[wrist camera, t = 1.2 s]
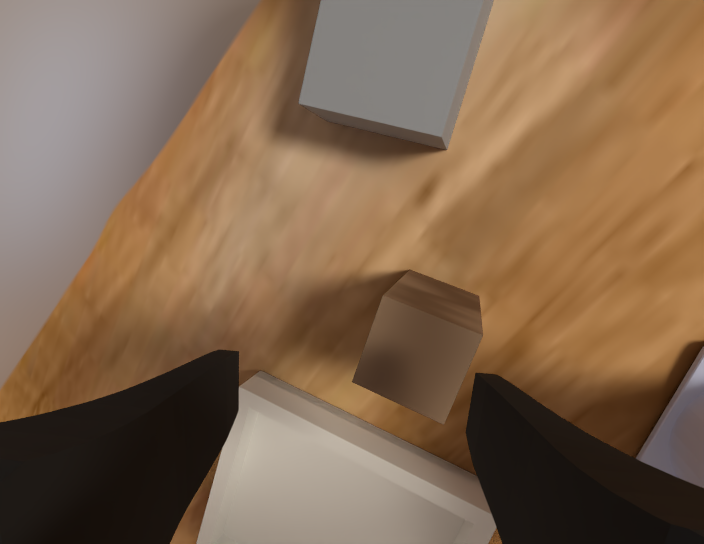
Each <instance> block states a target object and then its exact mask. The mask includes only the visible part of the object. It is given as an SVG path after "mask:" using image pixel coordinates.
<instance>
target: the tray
mask: <svg viewBox="0 0 704 544" xmlns="http://www.w3.org/2000/svg"><path fill="white" fill-rule="evenodd" d="M496 528H497V527H496V524H495V522H494V519H493V516H492V514H491V511H490V509H489V506H488V503H487V501H486V498H485V495H484V493H483V490H482V487H481V485H480V482H479V479H478V477H477V476H476V475H474V474H472V473H470V472H468V471H466V470H464V469H462V468H460V467H458V466H456V465H454V464H451V463H449V462H447V461H445V460H443V459H441V458H439V457H437V456H435V455H433V454H431V453H429V452H427V451H425V450H423V449H421V448H419V447H417V446H415V445H413V444H411V443H409V442H406V441H404V440H402V439H400V438H398V437H396V436H394V435H392V434H390V433H388V432H386V431H384V430H382V429H380V428H378V427H376V426H374V425H372V424H370V423H368V422H366V421H363V420H361V419H359V418H357V417H355V416H353V415H351V414H349V413H347V412H345V411H343V410H341V409H339V408H337V407H335V406H333V405H331V404H329V403H327V402H325V401H323V400H321V399H318V398H316V397H314V396H312V395H310V394H308V393H306V392H304V391H302V390H300V389H298V388H296V387H294V386H292V385H290V384H288V383H286V382H284V381H282V380H280V379H278V378H276V377H273V376H271V375H269V374H267V373H265V372H263V371H261V370H260V371H259V372H258V373H256V374H255V375H254V376H252V377H251V378H250V379H248V380H247V381H246V382H244V383H243V384H242V385H240V386H239V411H238V414H237V416H236V419H235V421H234V424H233V426H232V429H231V431H230V433H229V436H228V438H227V440H226V442H225V444H224V446H223V448H222V451H221V455H220V459H219V462H218V466H217V470H216V473H215V477H214V481H213V484H212V488H211V492H210V495H209V499H208V503H207V506H206V510H205V514H204V517H203V521H202V525H201V528H200V532H199V535H198V539H197V543H196V544H488V543H489V541H490V539H491V537H492V535H493V533H494V531H495V529H496Z"/></svg>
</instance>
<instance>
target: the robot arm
mask: <svg viewBox="0 0 704 544" xmlns="http://www.w3.org/2000/svg"><path fill="white" fill-rule="evenodd" d="M238 411H239V351H228V350H217V351H214V352H211V353H208V354H206V355H204V356H202V357H199V358H197V359H195V360H193V361H191V362H189V363H186V364H184V365H182V366H180V367H178V368H176V369H173V370H171V371H169V372H167V373H165V374H162V375H160V376H157V377H155V378H153V379H150V380H148V381H145V382H143V383H141V384H138V385H136V386H133V387H131V388H128V389H126V390H123V391H120V392H117V393H114V394H111V395H108V396H105V397H102V398H99V399H96V400H93V401H90V402H86V403H83V404H79V405H75V406H71V407H67V408H63V409H60V410H56V411H52V412H48V413H44V414H40V415H35V416H31V417H26V418H21V419H16V420H11V421H6V422H0V544H170V542H171V540H172V537H173V535H174V533H175V531H176V529H177V527H178V524H179V523H180V521H181V519H182V517H183V515H184V513H185V511H186V509H187V507H188V506H189V504H190V502H191V501H192V499H193V497H194V495H195V494H196V492H197V490H198V489H199V487H200V485H201V484H202V482H203V480H204V478H205V477H206V475H207V473H208V472H209V470H210V468H211V466H212V465H213V463H214V461H215V460H216V458H217V456H218V454H219V453H220V451H221V449H222V447H223V446H224V444H225V442H226V440H227V438H228V436H229V433H230V431H231V429H232V426H233V424H234V421H235V419H236V416H237V414H238ZM466 436H467V440H468V445H469V450H470V454H471V458H472V462H473V465H474V468H475V471H476V474H477V477H478V479H479V482H480V485H481V487H482V490H483V493H484V495H485V498H486V501H487V503H488V506H489V509H490V511H491V514H492V516H493V519H494V522H495V524H496V527H497V530H498V532H499V535H500V538H501V540H502V543H503V544H704V346H703V348H702V349H701V351H700V352H699V354H698V356H697V357H696V359H695V361H694V362H693V364H692V366H691V367H690V369H689V371H688V372H687V374H686V376H685V377H684V379H683V381H682V382H681V384H680V386H679V387H678V389H677V391H676V392H675V394H674V396H673V397H672V399H671V400H670V402H669V404H668V405H667V407H666V409H665V410H664V412H663V414H662V415H661V417H660V419H659V420H658V422H657V424H656V425H655V427H654V429H653V430H652V432H651V434H650V435H649V437H648V439H647V440H646V442H645V444H644V445H643V447H642V449H641V450H640V452H639V454H638V455H637V457H636V459H635V458H633V457H631V456H629V455H627V454H625V453H623V452H621V451H619V450H617V449H615V448H613V447H612V446H610V445H608V444H606V443H604V442H602V441H600V440H598V439H597V438H595V437H593V436H591V435H589V434H588V433H586V432H584V431H583V430H581V429H579V428H578V427H576V426H574V425H573V424H571V423H570V422H568V421H566V420H565V419H563V418H561V417H560V416H558V415H557V414H555V413H554V412H552V411H551V410H549V409H548V408H546V407H545V406H543V405H542V404H540V403H539V402H537V401H536V400H535V399H533V398H532V397H530V396H529V395H527V394H526V393H524V392H523V391H521V390H520V389H519V388H517V387H516V386H514V385H513V384H511V383H510V382H508V381H507V380H505V379H503V378H502V377H500V376H498V375H495V374H484V373H475V379H474V385H473V391H472V397H471V403H470V410H469V416H468V422H467V428H466Z"/></svg>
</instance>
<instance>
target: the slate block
mask: <svg viewBox="0 0 704 544" xmlns="http://www.w3.org/2000/svg"><path fill="white" fill-rule="evenodd" d="M492 5H493V0H321V2H320V7H319V11H318V16H317V20H316V25H315V29H314V34H313V39H312V43H311V48H310V52H309V57H308V62H307V66H306V71H305V75H304V80H303V85H302V89H301V94H300V98H299V103H298V104H300V105H302V106H303V107H305V108H307V109H308V110H310V111H311V112H313V113H315V114H316V115H318V116H320V117H321V118H323V119H324V120H326V121H329V122H333V123H337V124H341V125H346V126H350V127H354V128H358V129H362V130H366V131H370V132H374V133H379V134H383V135H387V136H391V137H395V138H399V139H403V140H408V141H412V142H416V143H420V144H424V145H428V146H432V147H436V148H441V149H445V150H447V149H448V145H449V142H450V139H451V136H452V133H453V129H454V126H455V123H456V120H457V117H458V114H459V110H460V107H461V104H462V101H463V98H464V94H465V91H466V88H467V85H468V82H469V78H470V75H471V72H472V69H473V66H474V62H475V59H476V56H477V53H478V50H479V47H480V43H481V40H482V37H483V34H484V31H485V27H486V24H487V21H488V18H489V15H490V11H491V8H492Z"/></svg>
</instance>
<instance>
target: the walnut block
mask: <svg viewBox="0 0 704 544" xmlns="http://www.w3.org/2000/svg"><path fill="white" fill-rule="evenodd" d="M482 337H483V330H482V320H481V310H480V300H479V296H478V295H475V294H473V293H470V292H468V291H465V290H462V289H460V288H457V287H454V286H452V285H449V284H446V283H444V282H441V281H439V280H436V279H433V278H431V277H428V276H425V275H423V274H420V273H417V272H415V271H412V270H409V271H408V272H407V273H406V274H405V275H404V276H403V277H402V278H401V279H399V280H398V281H397V282H396V283H395V284H394V285H393V286H392V287H391V288H390V289H389V290H388V291H387V292H386V293H385V294H384V295H383V296H382V299H381V302H380V305H379V308H378V310H377V313H376V316H375V319H374V322H373V324H372V327H371V330H370V333H369V336H368V339H367V341H366V344H365V347H364V350H363V353H362V355H361V358H360V361H359V364H358V367H357V369H356V372H355V375H354V378H353V381H352V382H353V383H355V384H357V385H360V386H362V387H364V388H366V389H368V390H370V391H372V392H375V393H377V394H379V395H381V396H383V397H385V398H387V399H390V400H392V401H394V402H396V403H398V404H400V405H402V406H405V407H407V408H409V409H411V410H413V411H415V412H417V413H420V414H422V415H424V416H426V417H428V418H430V419H432V420H435V421H437V422H439V423H441V424H443V425H444V423H445V421H446V419H447V416H448V414H449V412H450V410H451V407H452V405H453V403H454V400H455V398H456V396H457V394H458V391H459V389H460V387H461V385H462V382H463V380H464V378H465V375H466V373H467V371H468V369H469V366H470V364H471V362H472V359H473V357H474V355H475V353H476V350H477V348H478V346H479V344H480V341H481V339H482Z"/></svg>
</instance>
